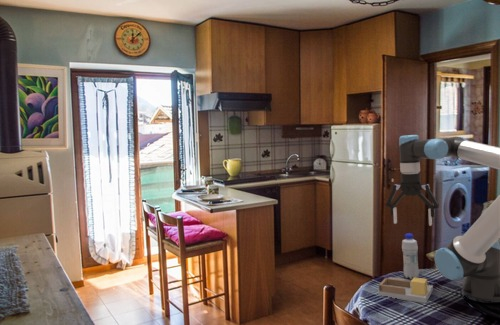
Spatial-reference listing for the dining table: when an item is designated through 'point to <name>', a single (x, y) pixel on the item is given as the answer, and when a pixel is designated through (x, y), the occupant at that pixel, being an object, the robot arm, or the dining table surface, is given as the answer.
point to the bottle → (410, 256)
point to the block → (419, 286)
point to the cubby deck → (401, 290)
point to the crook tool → (399, 279)
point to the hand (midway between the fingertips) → (412, 224)
